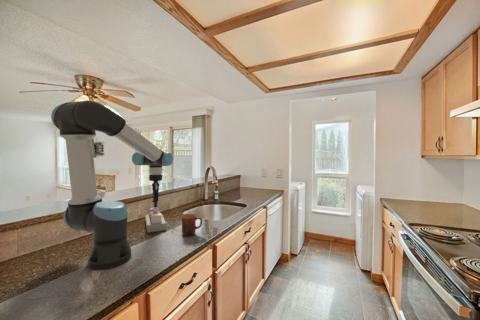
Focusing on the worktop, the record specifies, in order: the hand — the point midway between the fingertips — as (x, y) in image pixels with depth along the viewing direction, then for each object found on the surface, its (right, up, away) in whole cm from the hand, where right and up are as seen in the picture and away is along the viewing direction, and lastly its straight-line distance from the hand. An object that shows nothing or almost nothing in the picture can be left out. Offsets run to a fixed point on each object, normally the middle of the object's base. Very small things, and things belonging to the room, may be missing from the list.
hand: (155, 211), depth 126 cm
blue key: (-4, -4, +7) cm, 8 cm away
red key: (0, -5, 0) cm, 5 cm away
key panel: (0, -8, 0) cm, 8 cm away
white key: (+3, -4, -7) cm, 9 cm away
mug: (+26, -9, -14) cm, 31 cm away
